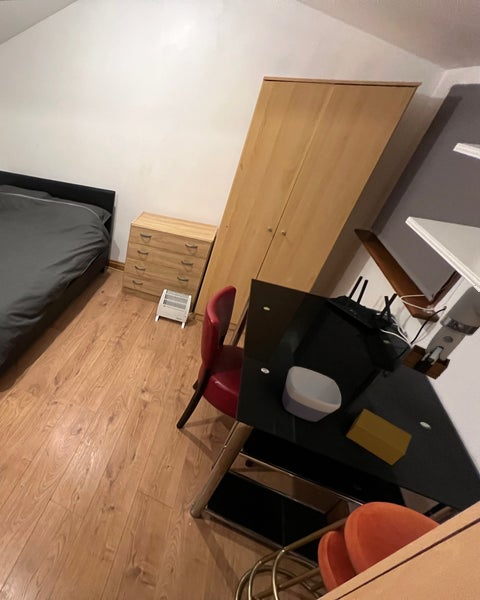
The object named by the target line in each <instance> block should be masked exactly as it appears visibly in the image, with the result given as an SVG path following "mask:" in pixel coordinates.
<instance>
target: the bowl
mask: <svg viewBox="0 0 480 600" xmlns="http://www.w3.org/2000/svg"><path fill="white" fill-rule="evenodd" d="M341 394H342V393H341V391H340V388H339V385H338V384H337V382H336V381H335V380H334V379H332V378H331V377H330V376H327V375H324V374H322V373H320V372H317V371H314V370H311V369H308V368H305V367H302V366H296V365H295V366H291V368H289V369H288V373H287V376H286V381H285V384H284V388H283V391H282V395H281V402H282V405H283V408H284V410H286V411H287V413H288V412H289V414H292V415H294V416H296V417H298V418H300V419H302V420H305V421H309V422H313V423H314V422H315V423H317V422H318V421H320V420H322V419H323V418H325V417H326V416H328V415H330V414H332V413H333V412H335V411H337V410H338V409H340V407H341V405H342V395H341Z"/></svg>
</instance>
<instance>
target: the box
mask: <svg viewBox="0 0 480 600" xmlns="http://www.w3.org/2000/svg"><path fill="white" fill-rule="evenodd" d="M345 437H346V438H348V439H349V440H351V441H353V442H354V443H356V444H357V445H359V446H360V447H362V448H364V449H365V450H366V451H368V452H370V453H371V454H373V455H375V456H376V457H377V458H379V459H381V460H383V461H384V462H386V463H387V464H388V465H390V466H393V465H394V464H396V462H398V460H399V459H401V458H402V457H403V456H405V455H406V452H407V450H408V447H409V445H410V441H411V439H412V437H413V436H412V434H410V433H408V432H407V431H405V430H403V429H402V428H399V427H398V426H396V425H394V424H392V423H391V422H390V421H388V420H385V419H384V418H383V417H380V416H378V415H377V414H375V413H373V412H372V411H370V410H368V409H366V408H365V407H364V408H363V409H362V411H361V413H359V414H358V416H357V417H356V418H355V419H354V421H353V422H352V424H351V425H350V427H349V430H348V431H347V433H346V435H345Z"/></svg>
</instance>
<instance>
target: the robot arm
mask: <svg viewBox="0 0 480 600" xmlns="http://www.w3.org/2000/svg"><path fill="white" fill-rule="evenodd" d="M473 286H474V285H472V286H470V287H468V288H467V289H466V290H465V291H464V292H463V294H462V295H461V296H460V297H459V298H458V300H456V302H455V303H454V304H453V305H452V306H451V308H450V309H449V310H448V311H447V312H446V314H445V315H443V317H442V318H441V320H440V321H439V324H440V325H441V326H440V328H439V329H438V330H437V332H436V333H435V334H434V336H432V338H431V339H430V341H429V343H428V344H427V346H426V348H425V349H426V350H425V352H426V355H425V356H424V357H423V358H422V359H420V360H419V361H418V362H417V363H416V364H415V366H414V367H413V369H412V370H414V369H415V370H414V371H416V370H417V371H416V372H418V371H419V372H418V373H420V372H421V373H420V374H422V373H423V374H422V375H424V374H425V373H426V372H427V371H428V370H429V369H430V368H431V367H432V366H433V364H434V363H435V361H436V360H437V359H438V358H439V357H440V359H441V360H445V359H446V358H448V357H449V356H450V355H451V354H452V353H453V352H454V350H455V349H457V348H458V346H459V345H460V344H461V342H462V341H463V340H464V339H465V337H467V336H469V337H471V336H473V335H474V334H475V333H476V332H477V331H478V330H479V329H480V292H478V291H477V290H476V289H475V288H474V287H473ZM430 352H432V354H430ZM428 355H430V357H427V356H428Z"/></svg>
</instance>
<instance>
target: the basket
mask: <svg viewBox="0 0 480 600" xmlns="http://www.w3.org/2000/svg"><path fill="white" fill-rule="evenodd" d="M425 350H426V348H424V347H423V346H420V345H418V344H414V345H413V346H412V347H411V349H409V351H407V352H406V354H405V355H404V357H403V359H402V360H401V363H400V364H401V365H403V366H405V367H407V368H409V369H411V370H414V371H416V372H418V373H420V374H421V375H424V376H426V377H428V378H431V379H433V380H437V379H438V378H440V377H441V376H442V375H443V373H444V372H445V371H446V370H447V369H448V367H449V364H450V363H451V359H450V358H448V357H447V358H446V359H445V360H441V359H440V357H439V358H438V359H437V360H436V361H435V363H434V364H433V366H432V367H431V368H430V369H429V370H428V371H427V372H426V373H425V374H423V373H421V372H419V371H417V370H415V369H413V367H414V366H415V364H416V363H417V362H418V361H419V360H420V359H422V358H423V357H424V356H425V355H426V352H425ZM430 354H432V352H430ZM427 357H430V355H428V356H427Z"/></svg>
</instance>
